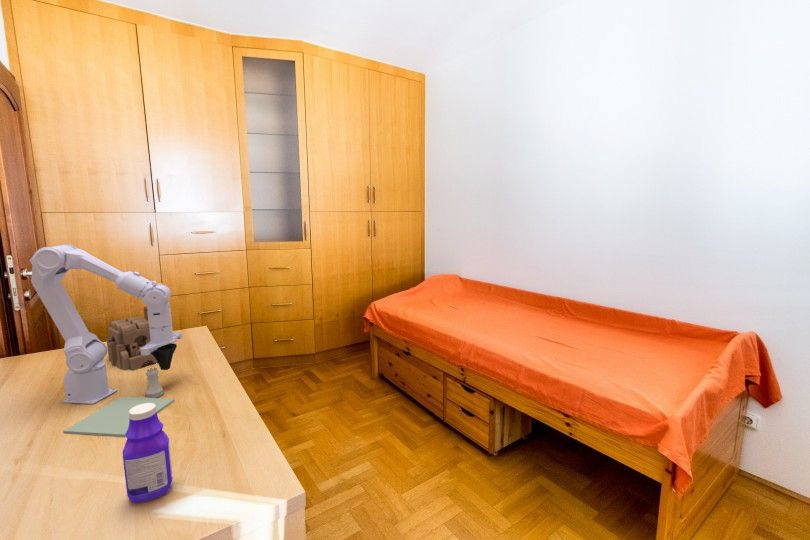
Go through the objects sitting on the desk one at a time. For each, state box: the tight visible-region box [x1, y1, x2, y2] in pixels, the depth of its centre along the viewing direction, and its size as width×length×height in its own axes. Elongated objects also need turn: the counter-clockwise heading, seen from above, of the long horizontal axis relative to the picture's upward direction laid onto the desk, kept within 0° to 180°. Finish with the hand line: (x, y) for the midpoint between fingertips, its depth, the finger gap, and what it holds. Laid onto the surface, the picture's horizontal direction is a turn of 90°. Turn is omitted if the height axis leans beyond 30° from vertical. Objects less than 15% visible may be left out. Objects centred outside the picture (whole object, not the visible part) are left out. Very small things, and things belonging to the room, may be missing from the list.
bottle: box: [122, 403, 174, 504], centre depth 70 cm, size 7×6×17 cm
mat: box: [62, 396, 176, 438], centre depth 98 cm, size 16×17×1 cm
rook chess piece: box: [145, 367, 165, 398], centre depth 108 cm, size 4×4×8 cm
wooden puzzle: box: [105, 305, 158, 372], centre depth 135 cm, size 22×15×19 cm, turn 54°
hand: (165, 369), depth 113 cm, fingers closed
